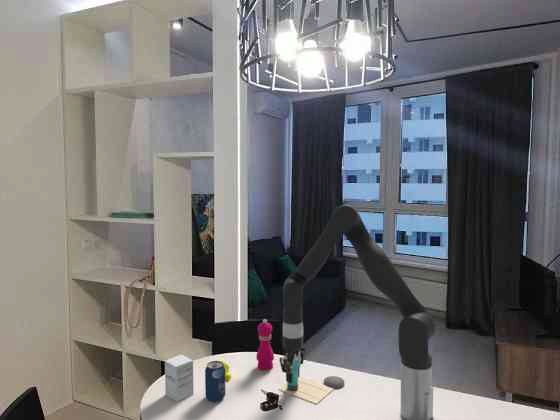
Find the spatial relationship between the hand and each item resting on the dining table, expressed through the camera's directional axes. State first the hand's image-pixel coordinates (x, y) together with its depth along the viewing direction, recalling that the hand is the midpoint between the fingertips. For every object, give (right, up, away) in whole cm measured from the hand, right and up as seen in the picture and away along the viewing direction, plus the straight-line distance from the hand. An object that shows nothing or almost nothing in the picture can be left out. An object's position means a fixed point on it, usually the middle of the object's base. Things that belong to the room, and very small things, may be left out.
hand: (292, 379), depth 140 cm
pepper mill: (-11, -3, +17) cm, 21 cm away
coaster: (+16, -3, +4) cm, 17 cm away
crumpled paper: (-28, -4, +9) cm, 29 cm away
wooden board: (+5, -4, 0) cm, 6 cm away
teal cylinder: (0, -3, 0) cm, 3 cm away
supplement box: (-41, -4, -3) cm, 41 cm away
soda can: (-27, -4, -5) cm, 28 cm away
